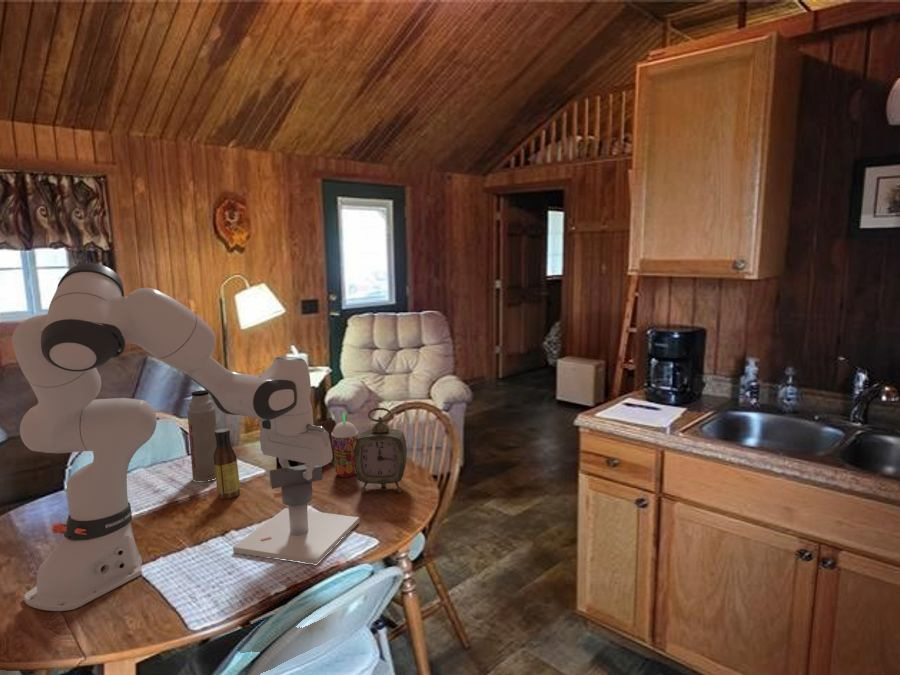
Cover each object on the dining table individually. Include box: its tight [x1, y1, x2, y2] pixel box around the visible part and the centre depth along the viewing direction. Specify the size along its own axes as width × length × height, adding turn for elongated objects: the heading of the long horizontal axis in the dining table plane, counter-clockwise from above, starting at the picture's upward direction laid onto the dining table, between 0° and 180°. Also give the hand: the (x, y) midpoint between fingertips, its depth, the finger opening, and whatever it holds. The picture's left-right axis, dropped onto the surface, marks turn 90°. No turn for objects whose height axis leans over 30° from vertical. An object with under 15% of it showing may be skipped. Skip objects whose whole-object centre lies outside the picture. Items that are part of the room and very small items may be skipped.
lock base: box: [232, 503, 360, 564], centre depth 143 cm, size 22×22×10 cm
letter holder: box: [275, 419, 337, 470], centre depth 195 cm, size 10×20×14 cm, turn 153°
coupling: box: [269, 465, 323, 507], centre depth 141 cm, size 12×7×8 cm, turn 115°
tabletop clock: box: [354, 407, 408, 493], centre depth 170 cm, size 14×9×25 cm, turn 88°
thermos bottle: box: [186, 389, 218, 482], centre depth 181 cm, size 8×8×28 cm
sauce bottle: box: [214, 427, 241, 500], centre depth 168 cm, size 7×6×20 cm
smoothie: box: [331, 412, 359, 478], centre depth 183 cm, size 8×8×20 cm
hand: (297, 476), depth 141 cm, fingers closed on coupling, 5 cm apart
